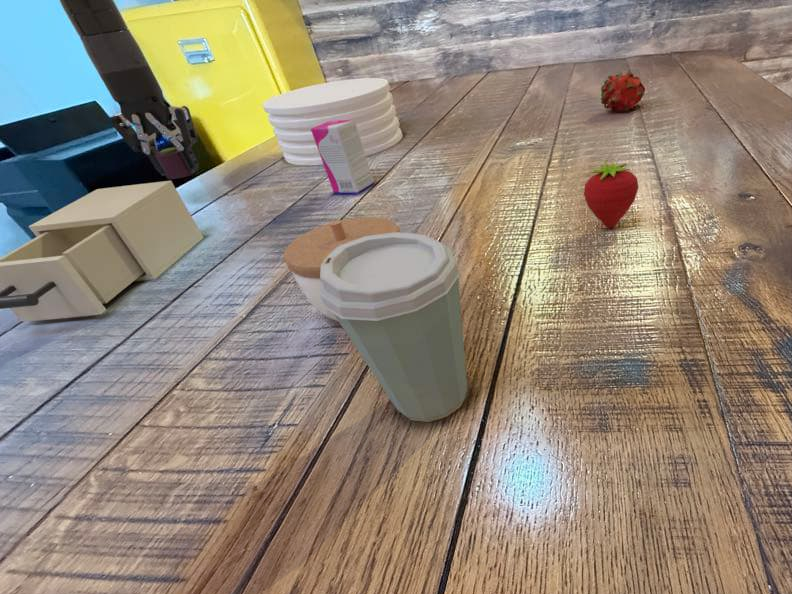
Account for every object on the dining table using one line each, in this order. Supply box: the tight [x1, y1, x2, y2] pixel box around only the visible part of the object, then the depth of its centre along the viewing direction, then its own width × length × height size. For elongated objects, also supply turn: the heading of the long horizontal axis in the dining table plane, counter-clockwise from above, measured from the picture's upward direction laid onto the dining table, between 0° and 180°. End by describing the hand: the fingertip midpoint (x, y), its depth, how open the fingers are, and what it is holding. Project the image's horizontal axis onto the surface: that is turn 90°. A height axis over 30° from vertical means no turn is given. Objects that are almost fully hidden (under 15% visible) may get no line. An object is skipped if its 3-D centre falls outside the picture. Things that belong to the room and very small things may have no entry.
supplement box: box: [311, 120, 375, 196], centre depth 93 cm, size 6×6×12 cm
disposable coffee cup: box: [320, 232, 469, 423], centre depth 43 cm, size 11×11×15 cm
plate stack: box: [262, 77, 403, 166], centre depth 119 cm, size 28×28×12 cm
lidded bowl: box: [283, 216, 401, 322], centre depth 58 cm, size 13×13×11 cm
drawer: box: [0, 223, 144, 323], centre depth 68 cm, size 18×11×8 cm, turn 0°
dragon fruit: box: [600, 71, 646, 114], centre depth 117 cm, size 8×8×12 cm
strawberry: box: [583, 154, 639, 229], centre depth 69 cm, size 6×8×10 cm
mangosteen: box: [155, 146, 197, 180], centre depth 95 cm, size 5×5×4 cm
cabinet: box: [28, 180, 204, 282], centre depth 78 cm, size 15×13×10 cm
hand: (180, 172), depth 96 cm, fingers closed on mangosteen, 5 cm apart
